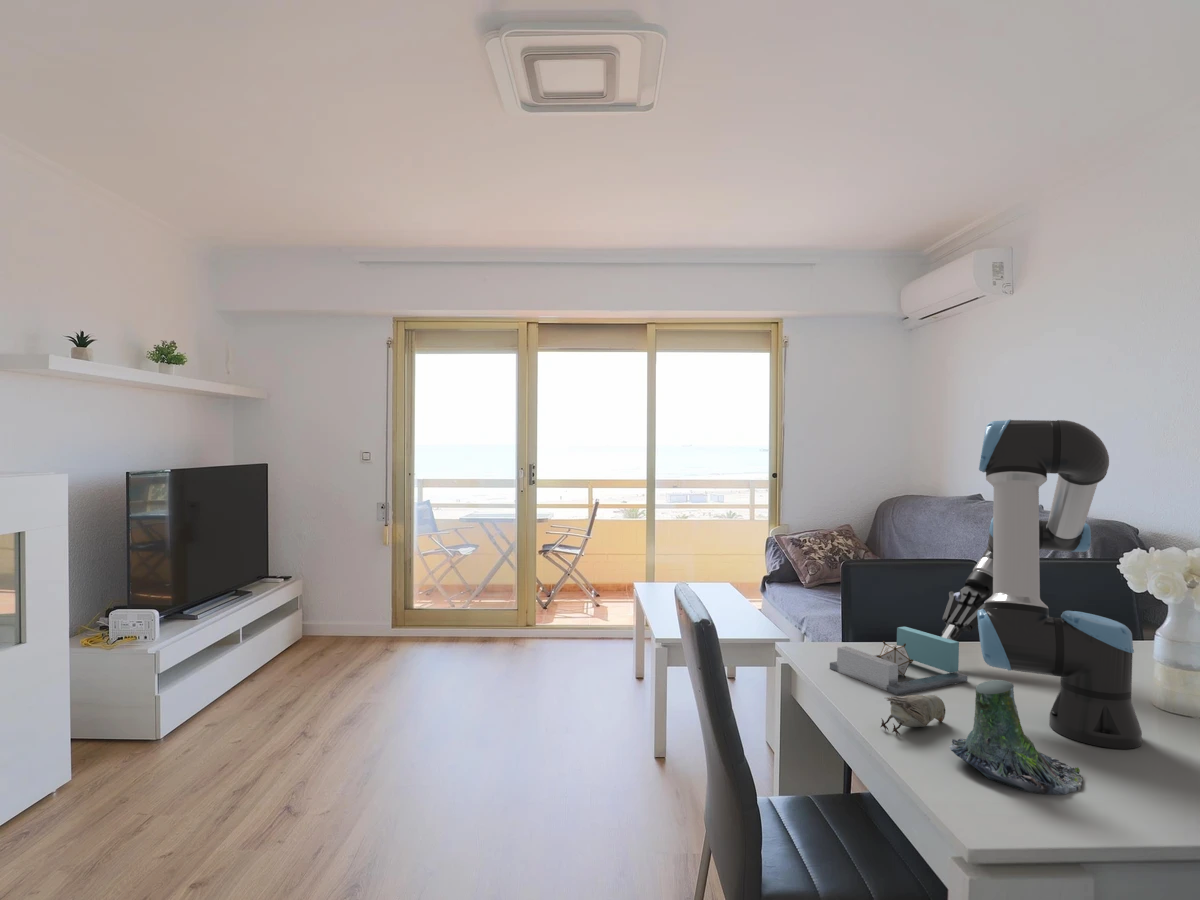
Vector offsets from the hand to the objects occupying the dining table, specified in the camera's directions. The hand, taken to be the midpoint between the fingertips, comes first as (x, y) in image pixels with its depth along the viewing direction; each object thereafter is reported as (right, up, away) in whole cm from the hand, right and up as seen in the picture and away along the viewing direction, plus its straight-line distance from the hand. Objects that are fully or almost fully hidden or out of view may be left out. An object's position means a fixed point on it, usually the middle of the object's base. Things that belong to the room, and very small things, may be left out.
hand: (942, 647), depth 183 cm
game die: (-16, -5, -8) cm, 18 cm away
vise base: (-16, -5, -8) cm, 18 cm away
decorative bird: (-25, -5, -41) cm, 48 cm away
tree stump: (-16, -5, -59) cm, 62 cm away
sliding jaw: (-5, -3, -3) cm, 7 cm away
